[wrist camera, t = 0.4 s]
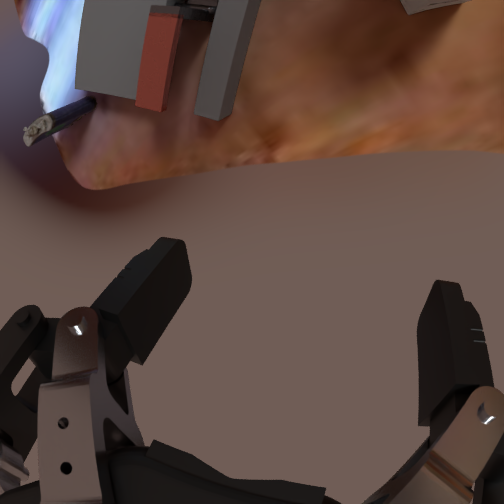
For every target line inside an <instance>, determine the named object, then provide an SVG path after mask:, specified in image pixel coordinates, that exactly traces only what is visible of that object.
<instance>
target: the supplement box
mask: <svg viewBox="0 0 504 504" xmlns="http://www.w3.org/2000/svg"><path fill="white" fill-rule="evenodd" d="M400 1H401V3H402V5H403V7H404V9H405V10H406V12H407V14H408V15H411V14H414V13H418V12H421V11H425V10H429V9H433V8H438V7H443V6H448V5H453V4H460V3H465V2H467V1H470V0H400Z"/></svg>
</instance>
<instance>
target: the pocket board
mask: <svg viewBox="0 0 504 504" xmlns="http://www.w3.org/2000/svg"><path fill="white" fill-rule="evenodd" d="M184 2H185V0H85V2H84V7H83V13H82V20H81V27H80V34H79V42H78V52H77V63H76V76H75V89H79V90H85V91H92V92H97V93H103V94H109V95H114V96H119V97H124V98H129V99H134V100H136V94H137V85H138V77H139V70H140V63H141V57H142V50H143V44H144V38H145V33H146V27H147V22H148V17H149V12H150V8H151V5H163V6H174V4H175V3H184ZM260 2H261V0H219V2H218V6H217V9H216V13H215V17H214V21H213V25H212V29H211V33H210V38H209V42H208V46H207V51H206V55H205V60H204V64H203V69H202V74H201V78H200V83H199V88H198V93H197V99H196V104H195V109H194V114H195V115H199V116H203V117H206V118H210V119H213V120H217V121H219V120H221V119H223V118H225V117H226V116H228V115H230V114H231V113H232V108H233V104H234V100H235V96H236V92H237V88H238V84H239V80H240V76H241V72H242V68H243V64H244V60H245V56H246V53H247V49H248V45H249V41H250V38H251V34H252V30H253V27H254V23H255V20H256V16H257V13H258V9H259V6H260Z"/></svg>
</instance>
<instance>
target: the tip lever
mask: <svg viewBox="0 0 504 504" xmlns="http://www.w3.org/2000/svg"><path fill="white" fill-rule="evenodd" d="M218 2H219V0H188V2H187V3H175V4H174V6H163V5H151V8H150V12H149V17H148V22H147V27H146V33H145V38H144V44H143V50H142V57H141V63H140V70H139V77H138V85H137V94H136V103H135V106H137V107H141V108H146V109H150V110H154V111H158V112H163V111H165V110H166V108H167V101H168V95H169V89H170V82H171V77H172V71H173V65H174V60H175V55H176V49H177V44H178V40H179V35H180V30H181V25H182V21H183V19H191V20H200V21H209V22H212V18H213V15H215V13H216V9H217V6H218Z"/></svg>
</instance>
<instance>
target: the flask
mask: <svg viewBox="0 0 504 504" xmlns="http://www.w3.org/2000/svg"><path fill="white" fill-rule="evenodd" d="M96 105H97V103H96V99H95V98H94V97H93V96H88V97H85V98H82V99H81V100H79V101H77V102H74V103H71V104H69V105H66V106H64V107H62V108H59V109H57V110H55V111H52V112H50V113H47V114H45V115H43V116H41V117H39V118H38V119H36V120H35V121H34V122H33V123H32V124H31V125H30V126H29V128H28V129H27V127H25V128H24V131H26V132H25V134H24V136H23V138H24V142H25V144H26V145H27V146H28V147H29V146H32V145H34V144H35V143H37V142H39V141H41V140H42V139H44V138H46V137H48V136H50V135H52V134H54V133H56V132H58V131H60V130H63V129H64V128H67V127H69V126H70V125H73V124H72V123H73V122H75V121H78V120H80V119H81V118H82V115H86V113H88V112H91V111H93V110H95V108H96Z"/></svg>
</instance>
